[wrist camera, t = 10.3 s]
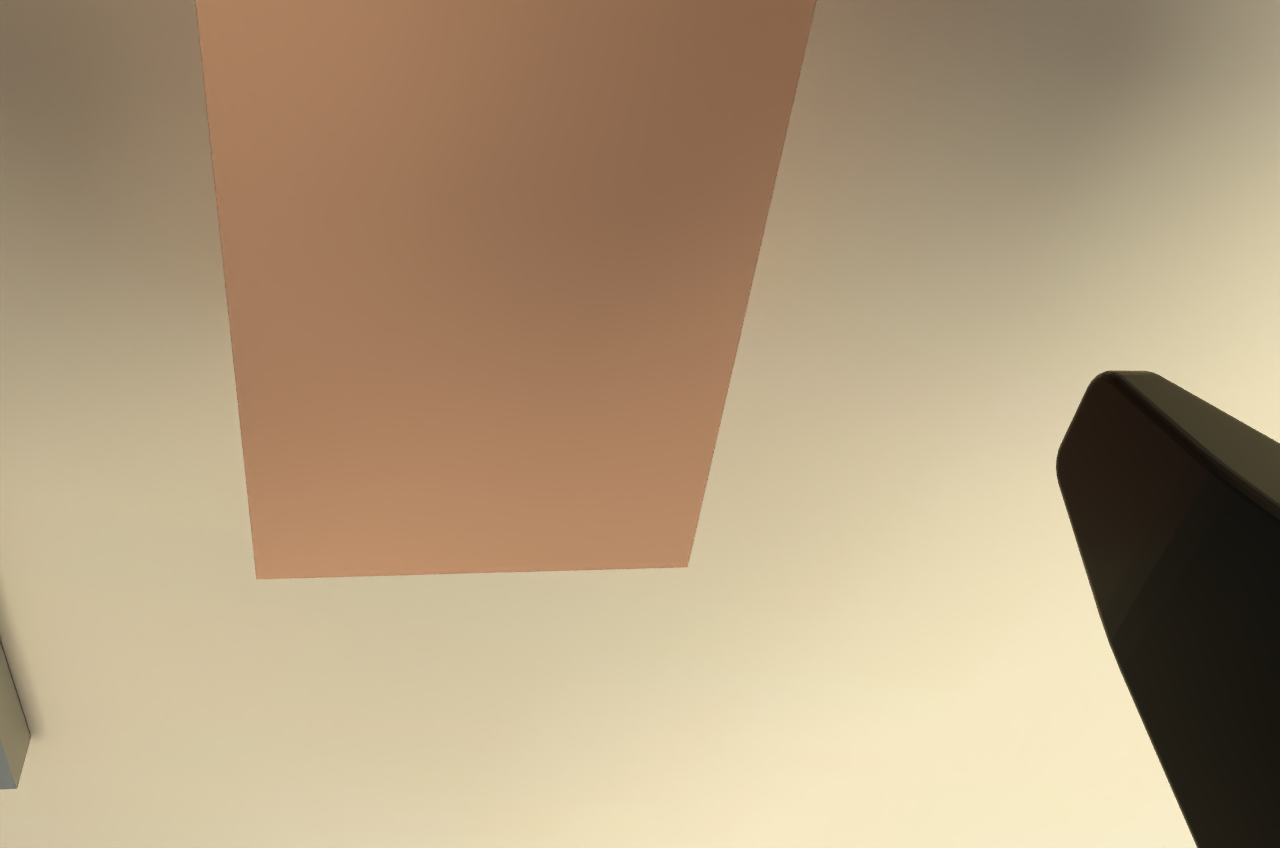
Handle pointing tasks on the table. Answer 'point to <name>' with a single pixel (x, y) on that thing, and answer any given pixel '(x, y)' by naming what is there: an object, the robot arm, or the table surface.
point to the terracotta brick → (488, 269)
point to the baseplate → (11, 730)
